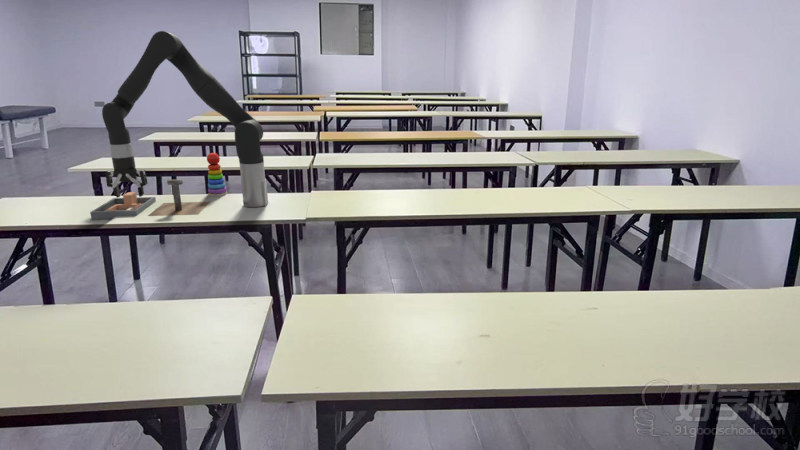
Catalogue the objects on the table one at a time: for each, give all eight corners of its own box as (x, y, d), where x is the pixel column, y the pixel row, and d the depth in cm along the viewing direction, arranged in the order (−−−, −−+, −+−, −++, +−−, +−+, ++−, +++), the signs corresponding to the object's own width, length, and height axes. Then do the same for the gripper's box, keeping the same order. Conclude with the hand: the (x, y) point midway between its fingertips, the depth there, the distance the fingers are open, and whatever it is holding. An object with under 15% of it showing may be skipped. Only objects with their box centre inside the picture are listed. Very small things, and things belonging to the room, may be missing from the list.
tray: (156, 204, 209) (155, 196, 208) (137, 218, 190) (136, 210, 189) (114, 205, 207) (113, 198, 206) (91, 220, 188) (90, 212, 187)
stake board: (210, 204, 208) (206, 173, 204) (198, 217, 191) (194, 183, 187) (164, 205, 206) (159, 174, 202) (147, 219, 189) (142, 184, 185)
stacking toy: (207, 195, 222) (202, 152, 217) (226, 193, 225) (221, 150, 220) (209, 199, 215) (203, 155, 210) (229, 197, 219) (224, 153, 213)
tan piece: (147, 203, 207) (145, 191, 205) (132, 214, 193) (130, 201, 191) (120, 204, 206) (118, 192, 205) (104, 215, 192) (101, 202, 190)
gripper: (145, 153, 202) (151, 193, 207) (107, 154, 200) (114, 194, 205) (138, 156, 195) (145, 198, 199) (98, 157, 193) (106, 199, 198)
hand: (129, 196), depth 202 cm, fingers open, 8 cm apart
